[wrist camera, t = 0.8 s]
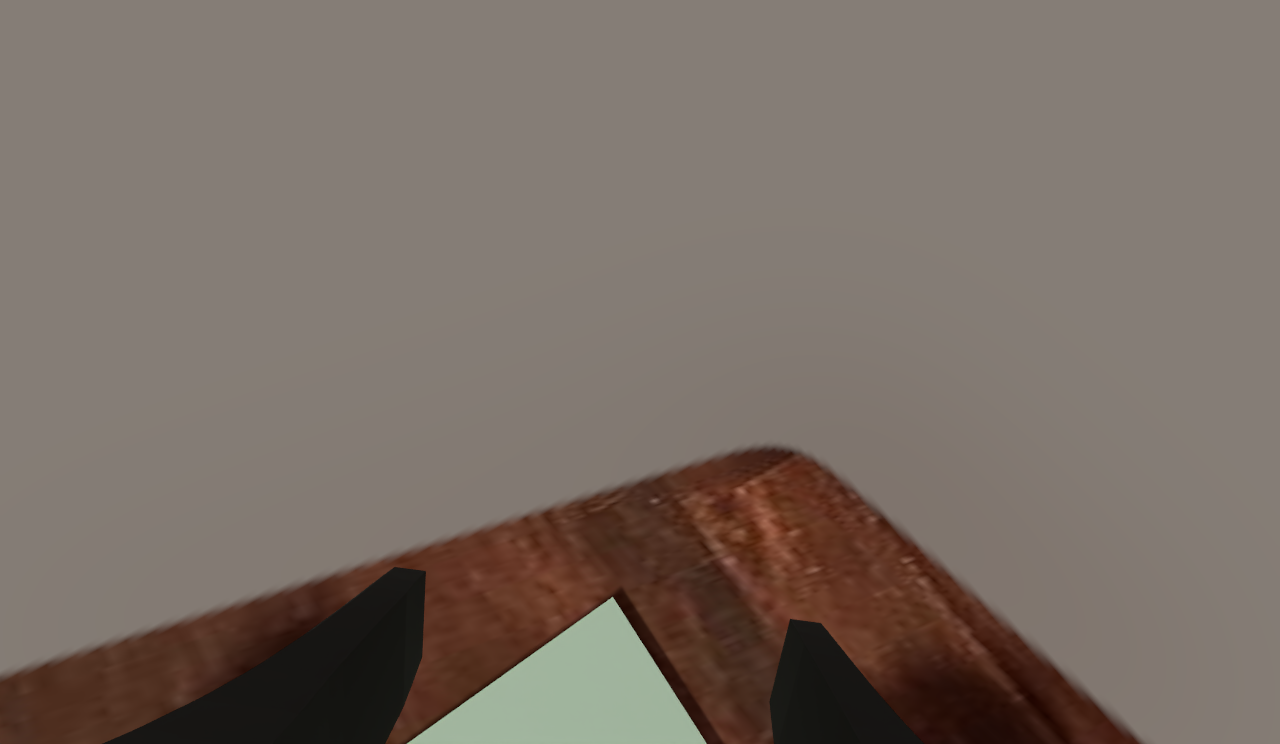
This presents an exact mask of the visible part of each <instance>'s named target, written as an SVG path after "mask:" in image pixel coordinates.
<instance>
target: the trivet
mask: <svg viewBox="0 0 1280 744" xmlns="http://www.w3.org/2000/svg"><path fill="white" fill-rule="evenodd" d="M407 744H707V743H706V742H705V740H704V739H703V737H702V735H701V734H700V732H699V731H698V729H697V728H696V726H695V725H694V723H693V721H692V720H691V718H690V717H689V715H688V714H687V712H686V710H685V709H684V707H683V706H682V704H681V703H680V701H679V700H678V698H677V696H676V695H675V693H674V692H673V690H672V689H671V687H670V686H669V684H668V682H667V681H666V679H665V678H664V676H663V675H662V673H661V671H660V670H659V668H658V667H657V665H656V664H655V662H654V661H653V659H652V657H651V656H650V654H649V653H648V651H647V650H646V648H645V646H644V645H643V643H642V642H641V640H640V639H639V637H638V636H637V634H636V632H635V631H634V629H633V628H632V626H631V625H630V623H629V621H628V620H627V618H626V617H625V615H624V614H623V612H622V611H621V609H620V607H619V606H618V604H617V603H616V601H615V600H614V598H613V597H612V598H610V599H609V600H608V601H606V602H605V603H603V604H602V605H601V606H599V607H598V608H596V609H595V610H594V611H592V612H591V613H589V614H588V615H587V616H585V617H584V618H582V619H581V620H580V621H578V622H577V623H575V624H574V625H573V626H571V627H570V628H568V629H567V630H566V631H564V632H563V633H561V634H560V635H559V636H557V637H556V638H554V639H553V640H552V641H550V642H549V643H547V644H546V645H545V646H543V647H542V648H540V649H539V650H538V651H536V652H535V653H533V654H532V655H531V656H529V657H528V658H526V659H525V660H524V661H522V662H521V663H519V664H518V665H517V666H515V667H514V668H512V669H511V670H510V671H508V672H507V673H505V674H504V675H503V676H501V677H500V678H498V679H497V680H496V681H494V682H493V683H491V684H490V685H489V686H487V687H486V688H484V689H483V690H482V691H480V692H479V693H477V694H476V695H475V696H473V697H472V698H470V699H469V700H468V701H466V702H465V703H463V704H462V705H461V706H459V707H458V708H456V709H455V710H454V711H452V712H451V713H449V714H448V715H447V716H445V717H444V718H442V719H441V720H440V721H438V722H437V723H435V724H434V725H433V726H431V727H430V728H428V729H427V730H426V731H424V732H423V733H421V734H420V735H419V736H417V737H416V738H414V739H413V740H412V741H410V742H409V743H407Z"/></svg>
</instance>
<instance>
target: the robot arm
mask: <svg viewBox="0 0 1280 744" xmlns="http://www.w3.org/2000/svg"><path fill="white" fill-rule="evenodd" d="M425 577H426V571H420V570H413V569H405V568H398V567H394V568H393V569H391V570H390V571H389V572H387V573H386V574H385V575H383V576H382V577H381V578H379V579H378V580H377V581H375V582H374V583H373V584H371V585H370V586H369V587H368V588H366V589H365V590H364V591H362V592H361V593H360V594H358V595H357V596H356V597H355V598H353V599H352V600H351V601H349V602H348V603H347V604H345V605H344V606H343V607H341V608H340V609H339V610H337V611H336V612H335V613H333V614H332V615H331V616H329V617H328V618H326V619H325V620H324V621H322V622H321V623H320V624H318V625H317V626H316V627H314V628H313V629H311V630H310V631H309V632H307V633H306V634H304V635H303V636H302V637H300V638H299V639H297V640H296V641H294V642H293V643H291V644H290V645H288V646H287V647H285V648H284V649H282V650H281V651H279V652H278V653H276V654H275V655H273V656H272V657H270V658H269V659H267V660H266V661H264V662H262V663H261V664H259V665H257V666H256V667H254V668H253V669H251V670H249V671H247V672H246V673H244V674H242V675H241V676H239V677H237V678H235V679H234V680H232V681H230V682H228V683H227V684H225V685H223V686H221V687H219V688H218V689H216V690H214V691H212V692H210V693H209V694H207V695H205V696H203V697H201V698H199V699H197V700H195V701H193V702H191V703H189V704H187V705H185V706H183V707H181V708H179V709H177V710H175V711H173V712H171V713H169V714H166V715H164V716H162V717H160V718H158V719H156V720H154V721H152V722H150V723H148V724H146V725H144V726H142V727H140V728H138V729H135V730H133V731H131V732H129V733H126V734H124V735H122V736H119V737H117V738H115V739H112V740H110V741H108V742H105V743H103V744H385V743H386V741H387V739H388V737H389V735H390V733H391V731H392V729H393V727H394V725H395V723H396V721H397V719H398V717H399V715H400V713H401V711H402V709H403V707H404V704H405V701H406V699H407V696H408V694H409V691H410V688H411V686H412V683H413V680H414V678H415V675H416V672H417V669H418V667H419V664H420V661H421V658H422V648H423V624H424V601H425ZM770 710H771V720H772V730H773V738H774V744H924V743H923V742H922V741H921V740H920V739H919V738H918V737H917V736H916V735H915V734H914V733H913V732H912V731H911V729H910V728H909V727H908V726H907V725H906V724H905V723H904V722H903V721H902V720H901V719H900V718H899V716H898V715H897V714H896V713H895V712H894V711H893V710H892V709H891V707H890V706H889V705H888V704H887V703H886V702H885V701H884V699H883V698H882V697H881V696H880V695H879V694H878V692H877V691H876V690H875V689H874V688H873V687H872V685H871V684H870V683H869V682H868V680H867V679H866V678H865V677H864V676H863V674H862V673H861V672H860V671H859V670H858V668H857V667H856V666H855V665H854V663H853V662H852V661H851V660H850V658H849V657H848V656H847V655H846V654H845V652H844V651H843V650H842V649H841V647H840V646H839V645H838V644H837V642H836V641H835V640H834V639H833V637H832V636H831V635H830V634H829V632H828V631H827V630H826V629H825V628H824V626H823V625H822V624H821V623H816V622H808V621H801V620H793V619H790V622H789V626H788V630H787V634H786V638H785V642H784V646H783V650H782V654H781V658H780V662H779V666H778V670H777V674H776V678H775V682H774V686H773V690H772V694H771V698H770Z"/></svg>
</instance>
